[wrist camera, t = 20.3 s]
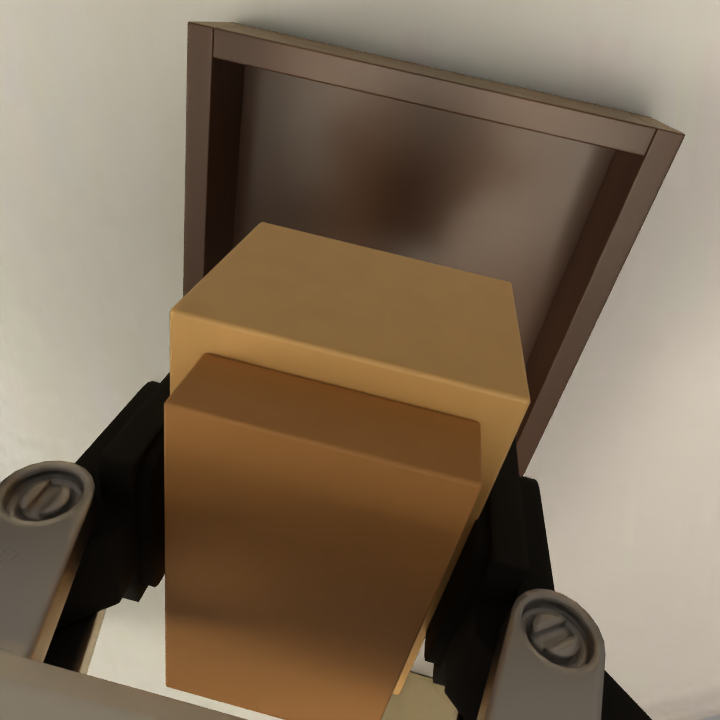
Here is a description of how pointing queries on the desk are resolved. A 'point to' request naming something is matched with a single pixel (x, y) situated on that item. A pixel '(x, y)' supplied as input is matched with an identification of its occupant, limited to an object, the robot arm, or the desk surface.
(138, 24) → the desk surface
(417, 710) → the toy refrigerator
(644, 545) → the desk surface
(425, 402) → the stepped wooden block
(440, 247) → the brown wooden tray
